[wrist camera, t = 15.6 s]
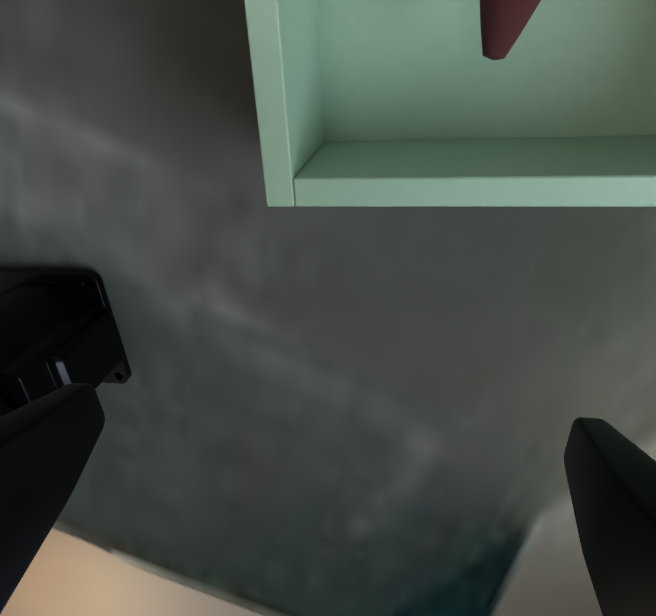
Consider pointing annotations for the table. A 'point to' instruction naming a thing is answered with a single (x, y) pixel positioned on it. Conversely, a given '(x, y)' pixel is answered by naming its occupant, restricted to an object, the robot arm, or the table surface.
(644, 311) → the table surface
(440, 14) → the green open box
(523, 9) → the icecream
